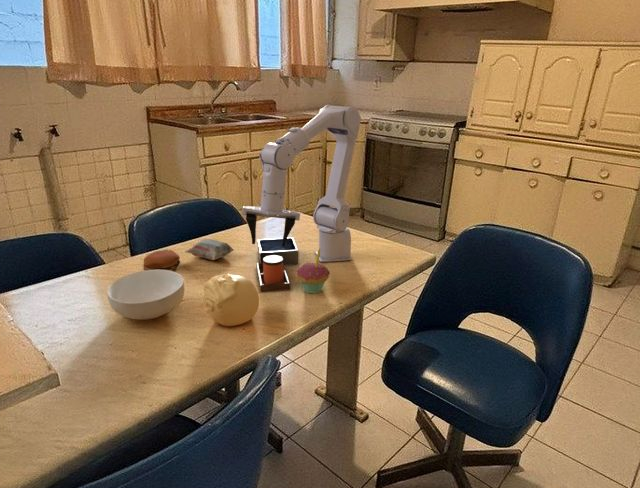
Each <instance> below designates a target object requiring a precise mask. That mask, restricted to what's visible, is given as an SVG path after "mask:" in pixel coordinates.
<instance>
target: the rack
mask: <svg viewBox="0 0 640 488" xmlns="http://www.w3.org/2000/svg"><path fill="white" fill-rule="evenodd" d="M256 273H257V278H258V284H259V290H260V293H265V292H277V291H288V290H290V289H291V283H290V279H289V277H288V274H287V273H288V272H287V270H286V267H285V265H284V264H283V276H284V283H275V284H264V272H263V263H260V262H257V263H256Z"/></svg>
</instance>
